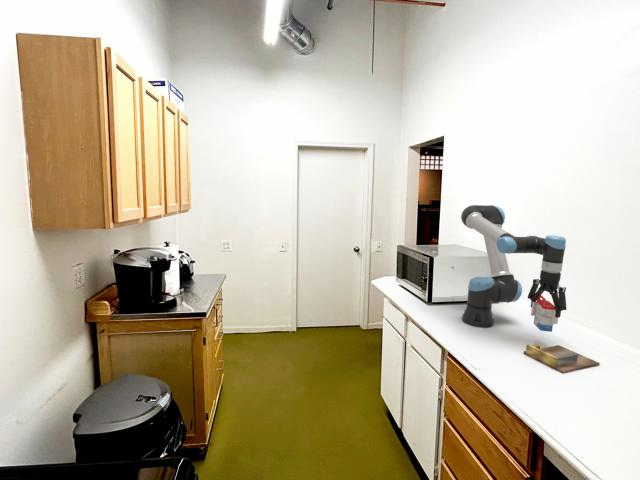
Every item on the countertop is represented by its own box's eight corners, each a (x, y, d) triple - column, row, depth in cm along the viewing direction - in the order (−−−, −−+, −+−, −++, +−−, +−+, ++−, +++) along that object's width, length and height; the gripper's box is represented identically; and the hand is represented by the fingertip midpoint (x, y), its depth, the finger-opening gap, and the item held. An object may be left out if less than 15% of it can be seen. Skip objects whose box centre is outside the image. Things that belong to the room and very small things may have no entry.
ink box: (552, 332, 155) (557, 300, 152) (539, 330, 156) (545, 299, 153) (544, 324, 163) (549, 294, 161) (532, 323, 164) (537, 293, 162)
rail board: (523, 353, 150) (524, 343, 149) (558, 347, 157) (559, 337, 157) (562, 373, 134) (564, 362, 134) (599, 365, 142) (601, 354, 141)
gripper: (522, 265, 164) (516, 311, 168) (570, 278, 144) (561, 330, 147) (534, 264, 166) (528, 309, 170) (582, 277, 146) (574, 328, 150)
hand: (543, 319), depth 159 cm, fingers closed on ink box, 9 cm apart
